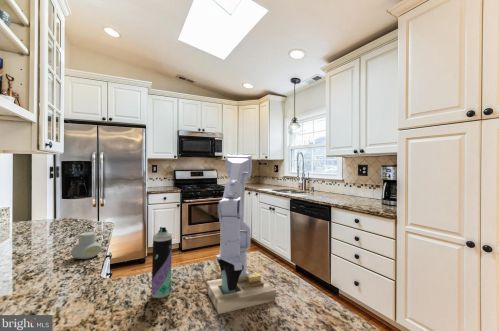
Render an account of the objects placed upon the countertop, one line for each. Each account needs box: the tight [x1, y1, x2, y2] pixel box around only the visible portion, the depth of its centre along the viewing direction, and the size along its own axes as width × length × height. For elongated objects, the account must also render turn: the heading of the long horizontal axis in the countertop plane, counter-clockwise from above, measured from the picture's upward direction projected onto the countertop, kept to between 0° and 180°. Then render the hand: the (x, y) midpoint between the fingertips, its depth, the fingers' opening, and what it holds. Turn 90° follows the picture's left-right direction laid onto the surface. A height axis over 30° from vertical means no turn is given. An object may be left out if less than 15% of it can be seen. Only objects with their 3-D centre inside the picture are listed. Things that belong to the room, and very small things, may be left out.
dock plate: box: [206, 271, 276, 315], centre depth 70 cm, size 13×17×4 cm
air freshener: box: [70, 231, 103, 260], centre depth 100 cm, size 11×8×10 cm
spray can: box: [151, 226, 173, 299], centre depth 71 cm, size 6×6×20 cm
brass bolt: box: [246, 272, 262, 285], centre depth 71 cm, size 2×4×2 cm, turn 114°
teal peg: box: [221, 270, 236, 295], centre depth 68 cm, size 4×4×7 cm
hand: (229, 285), depth 68 cm, fingers open, 4 cm apart
